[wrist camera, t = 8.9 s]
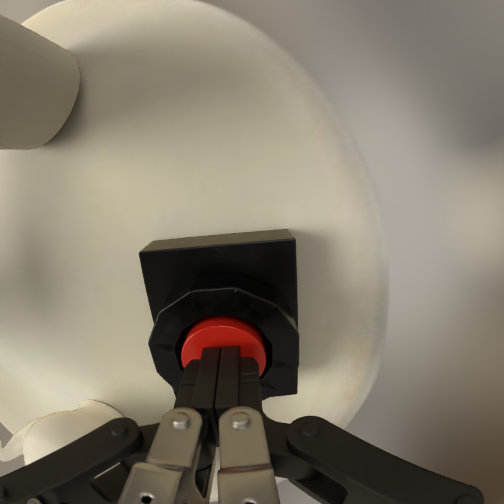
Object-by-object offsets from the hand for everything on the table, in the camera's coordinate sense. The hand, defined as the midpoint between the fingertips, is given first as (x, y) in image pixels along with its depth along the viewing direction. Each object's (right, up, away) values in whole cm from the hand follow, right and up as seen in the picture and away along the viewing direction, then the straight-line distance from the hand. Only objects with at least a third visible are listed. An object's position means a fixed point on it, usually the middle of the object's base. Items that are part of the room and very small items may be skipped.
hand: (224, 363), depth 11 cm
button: (0, +1, +2) cm, 2 cm away
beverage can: (-11, +14, +1) cm, 18 cm away
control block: (0, +1, +4) cm, 4 cm away
